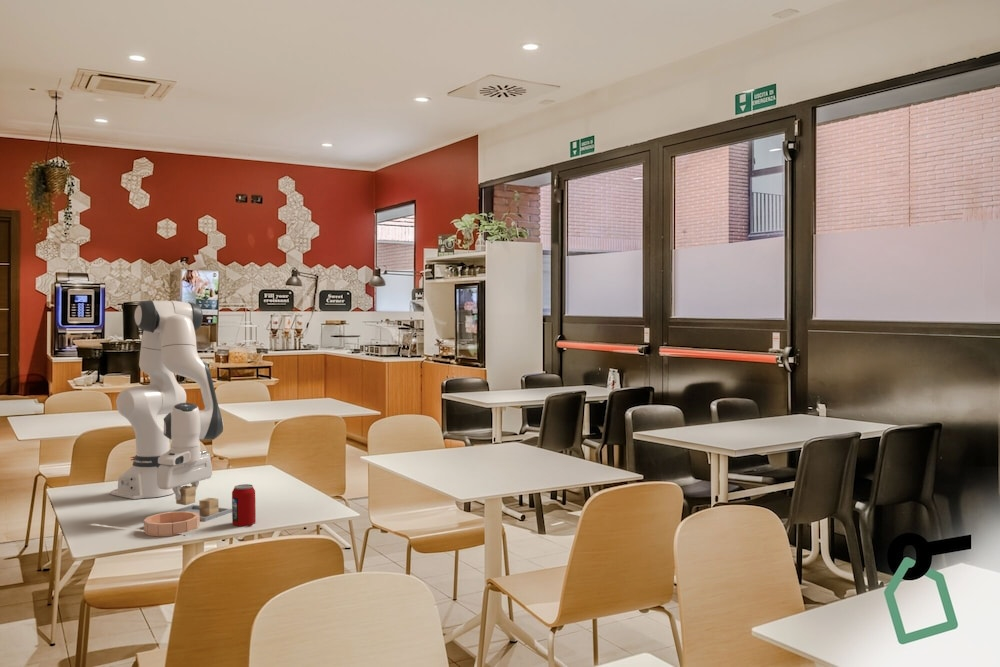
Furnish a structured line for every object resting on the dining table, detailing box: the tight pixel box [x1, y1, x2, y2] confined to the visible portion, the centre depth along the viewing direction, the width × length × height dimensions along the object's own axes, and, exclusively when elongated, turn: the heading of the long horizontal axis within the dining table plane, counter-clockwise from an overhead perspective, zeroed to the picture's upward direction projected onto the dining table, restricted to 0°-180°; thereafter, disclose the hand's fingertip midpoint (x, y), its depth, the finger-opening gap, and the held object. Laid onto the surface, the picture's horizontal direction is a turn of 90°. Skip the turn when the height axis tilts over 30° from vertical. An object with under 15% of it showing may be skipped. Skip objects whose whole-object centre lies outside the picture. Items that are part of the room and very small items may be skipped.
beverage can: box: [231, 483, 257, 528], centre depth 245 cm, size 7×7×12 cm
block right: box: [198, 497, 220, 517], centre depth 256 cm, size 4×4×5 cm
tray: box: [170, 504, 232, 522], centre depth 257 cm, size 16×12×2 cm
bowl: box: [143, 511, 201, 538], centre depth 241 cm, size 15×15×4 cm
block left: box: [175, 485, 196, 506], centre depth 259 cm, size 4×4×5 cm
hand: (185, 497), depth 259 cm, fingers closed on block left, 4 cm apart
